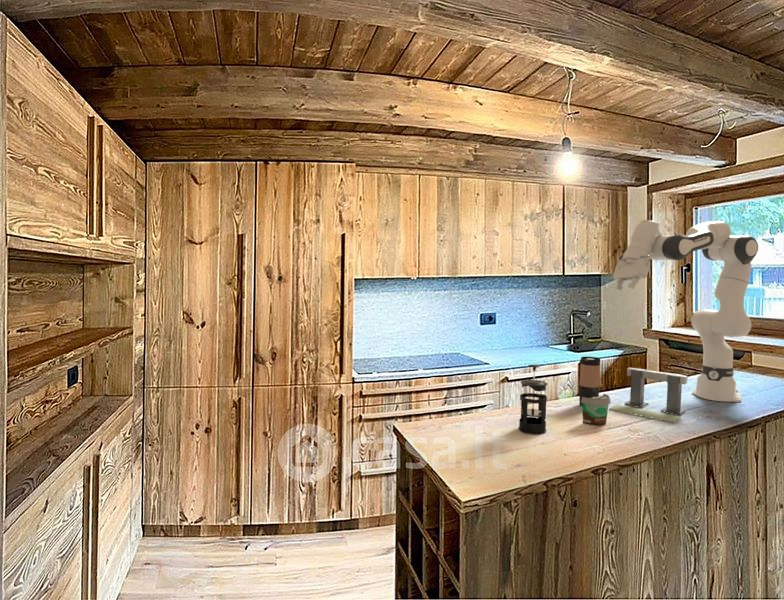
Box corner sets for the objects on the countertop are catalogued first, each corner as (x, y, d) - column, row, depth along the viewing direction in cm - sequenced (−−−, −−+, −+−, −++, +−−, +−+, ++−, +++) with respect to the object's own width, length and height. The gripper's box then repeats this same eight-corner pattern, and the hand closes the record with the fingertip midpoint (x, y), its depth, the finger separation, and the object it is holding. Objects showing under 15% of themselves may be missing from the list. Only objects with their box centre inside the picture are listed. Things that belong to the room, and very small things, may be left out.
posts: (631, 401, 221) (632, 367, 220) (685, 412, 206) (687, 374, 205) (624, 404, 216) (626, 369, 215) (680, 415, 201) (682, 377, 200)
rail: (629, 374, 219) (629, 367, 219) (687, 383, 204) (687, 375, 203) (626, 375, 217) (627, 368, 217) (684, 384, 201) (685, 376, 201)
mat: (616, 406, 214) (617, 404, 214) (680, 418, 197) (681, 417, 197) (609, 409, 208) (609, 408, 208) (674, 423, 191) (674, 421, 191)
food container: (593, 428, 183) (594, 400, 183) (579, 423, 189) (581, 396, 188) (617, 424, 189) (618, 397, 188) (603, 419, 194) (604, 393, 194)
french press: (533, 436, 174) (536, 369, 172) (511, 429, 181) (513, 364, 179) (554, 430, 181) (557, 365, 179) (532, 423, 188) (534, 361, 187)
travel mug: (595, 404, 216) (597, 356, 215) (601, 409, 209) (603, 360, 207) (576, 403, 217) (578, 356, 216) (581, 408, 209) (583, 359, 208)
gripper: (658, 257, 199) (646, 290, 198) (629, 263, 220) (618, 293, 219) (643, 251, 199) (631, 284, 198) (616, 257, 219) (605, 287, 218)
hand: (624, 289), depth 208 cm, fingers open, 8 cm apart
